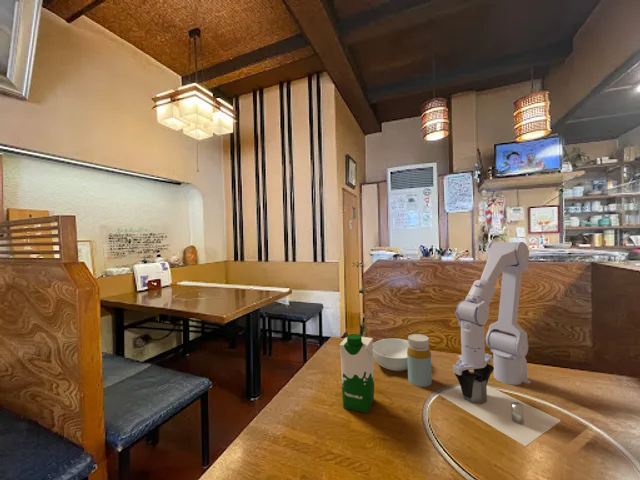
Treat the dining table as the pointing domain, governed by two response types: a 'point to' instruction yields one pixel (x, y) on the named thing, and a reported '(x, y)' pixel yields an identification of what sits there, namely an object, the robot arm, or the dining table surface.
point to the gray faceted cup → (478, 390)
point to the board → (505, 414)
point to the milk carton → (357, 372)
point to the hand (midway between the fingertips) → (474, 392)
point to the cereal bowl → (391, 353)
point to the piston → (517, 413)
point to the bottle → (419, 360)
